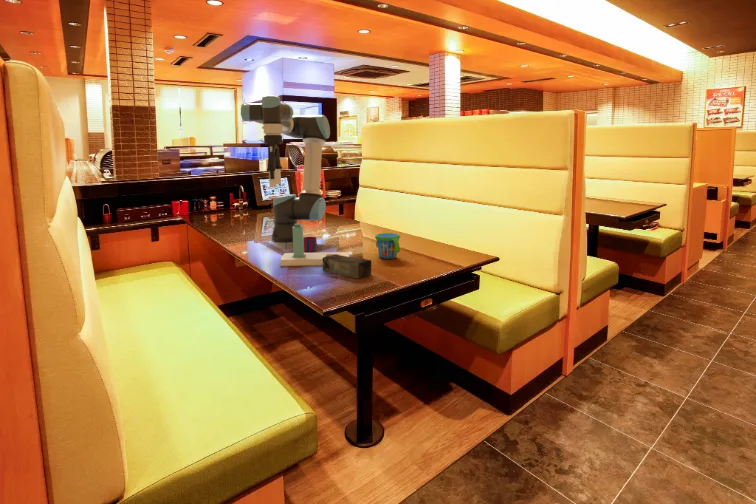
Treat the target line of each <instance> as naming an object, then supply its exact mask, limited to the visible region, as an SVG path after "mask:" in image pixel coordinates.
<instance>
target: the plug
mask: <svg viewBox="0 0 756 504" xmlns="http://www.w3.org/2000/svg"><path fill="white" fill-rule="evenodd" d="M292 229H293V241H292V245H293V246H292V248H293V250H292V251H293V253H294V258H304V237H305V236H304V225H302V223H297V224H295V226H293V228H292Z"/></svg>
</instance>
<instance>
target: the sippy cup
mask: <svg viewBox="0 0 756 504" xmlns="http://www.w3.org/2000/svg"><path fill="white" fill-rule="evenodd" d="M374 238H375V239H376V241H375V245H376V247H377V252H378V256H379V258H380V259H384V260H392V259H395V258H397V254H399V252H400V250H401V247H400V241H399V240H400V238H401V235H400V234H399V233H394V232H383V233H377V234H376V235H375V236H374Z"/></svg>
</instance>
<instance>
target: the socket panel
mask: <svg viewBox="0 0 756 504" xmlns="http://www.w3.org/2000/svg"><path fill="white" fill-rule="evenodd" d="M335 254H336V255H341V256H347V257H350V251H341V252H339V251H338V252H337V251H336V252H335V251H333V252H332V251H331V252H323V251H322V252H313V253H304V258H294V252H284V253H283V255H282V256H281V258H280V267H281V268H283V267H286V266H287V267H288V266H289V267H291V266H293V267H294V266H299V267H300V266H323V259H322V258H323V257H326V256H327V255H330V256H331V255H335Z"/></svg>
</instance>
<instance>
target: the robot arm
mask: <svg viewBox="0 0 756 504" xmlns="http://www.w3.org/2000/svg"><path fill="white" fill-rule="evenodd" d="M240 117H241V118H242V120H243V121H244V122H249V123H251V122H256V123H258V124H261V125H262V126H261V129H262V130H263V134H264V135H263V144H265V145H269V146H268V147H267V168H266V172H268V183H269V188H277V185H282V179H281V178H282V177H281V175H282V174H281V170H282V169H283V166H282V163H281V157H280V147H279V146H278V145H282V144H283V136H282V135H284V136H288V137H291V138H295V139H302V142H303V143H304V144H305V145H304V161H303V162H304V163H303V180H302V190H301V191H300V192H299V195H298V197H297V194H294V193H293V194H284V195H279V196H275V197H273V200H272V201H273V202H272V207H273V222H274V223H273V224H274V226H273V228H272V229H273V230H272V233H271V241H272V242H278V243H289V242H292V243H293V229H292V228H293V226H295V224H298V221H311V222H315V221H320V220H322V218H323V217H324V215H325V212H326V207H327V204H326V200H325V198H323V194H322V193H321V191H320V189H321V175H322V173H321V172H322V154H323V146H324V145H325V143H326V140H327V139H329V138H330V136H331V127H330V124H329V120H328V118H327V117H326V116H325V115H324V114H305V115H304V114H300V115H299V114H297V115H294V108H293V107H292V106H291V105H290V104H288V103H285V102H281V97H280V96H278V95H277V96H276V95H264V96H263V97H262V98H261V103H251V102H249V103H243V104H242V105H241V107H240Z"/></svg>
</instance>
